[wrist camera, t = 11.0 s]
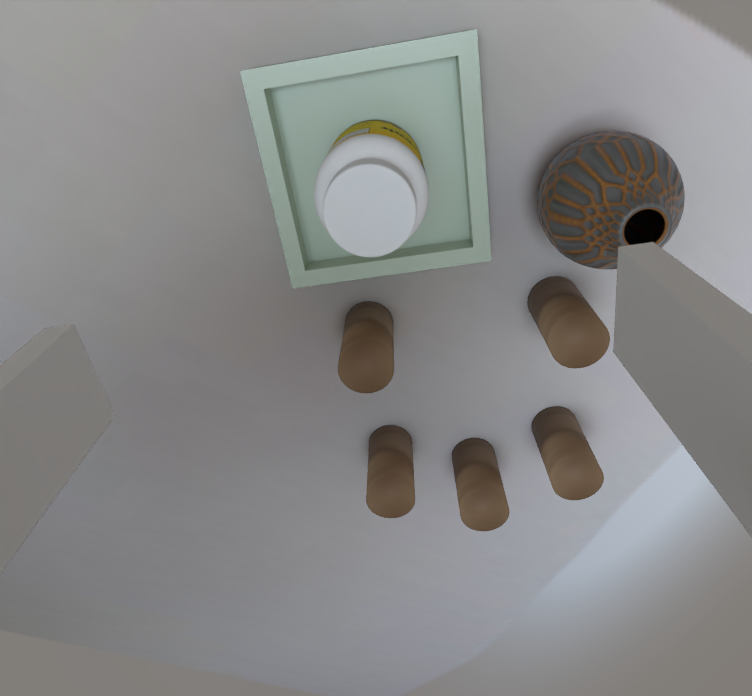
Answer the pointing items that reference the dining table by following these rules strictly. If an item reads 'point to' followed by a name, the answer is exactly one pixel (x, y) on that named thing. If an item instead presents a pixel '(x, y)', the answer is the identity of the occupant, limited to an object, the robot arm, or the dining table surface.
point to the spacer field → (476, 456)
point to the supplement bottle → (372, 188)
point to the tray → (385, 102)
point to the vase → (609, 197)
